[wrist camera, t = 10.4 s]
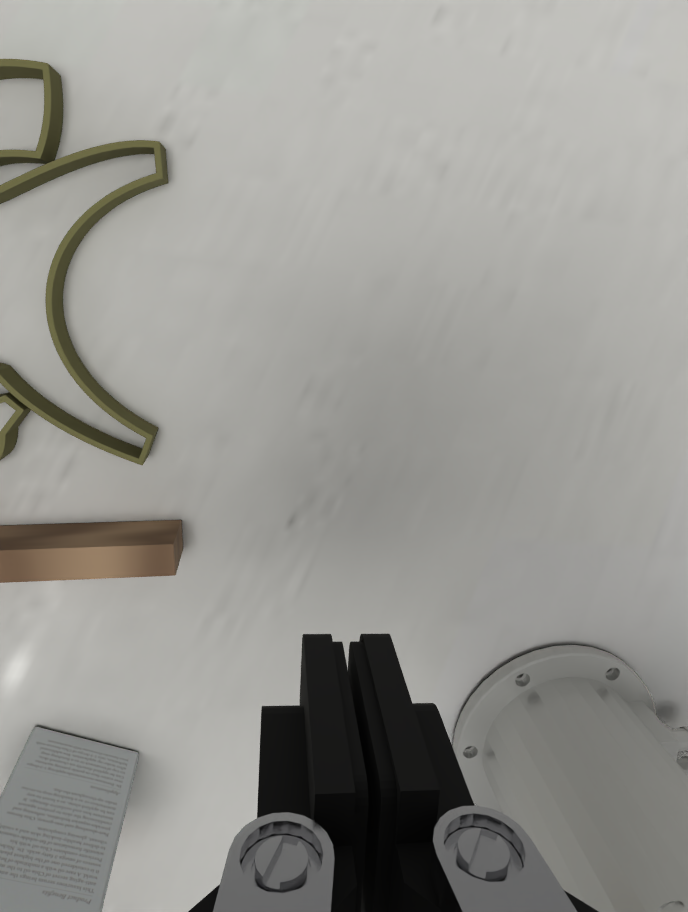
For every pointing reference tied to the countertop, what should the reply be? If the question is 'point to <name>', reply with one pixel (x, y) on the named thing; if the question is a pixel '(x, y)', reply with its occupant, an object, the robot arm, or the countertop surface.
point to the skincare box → (62, 823)
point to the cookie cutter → (19, 389)
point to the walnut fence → (89, 550)
